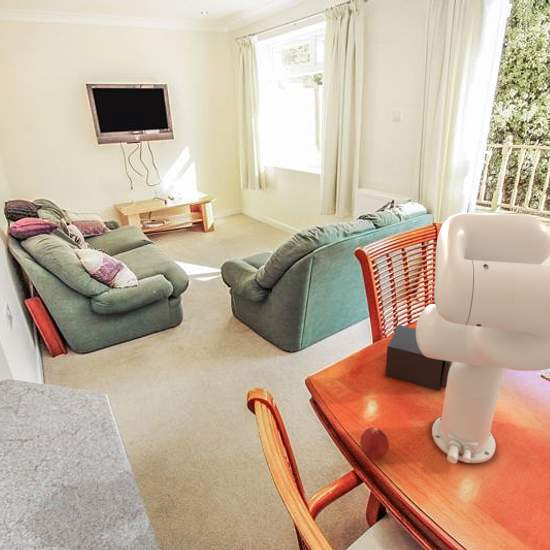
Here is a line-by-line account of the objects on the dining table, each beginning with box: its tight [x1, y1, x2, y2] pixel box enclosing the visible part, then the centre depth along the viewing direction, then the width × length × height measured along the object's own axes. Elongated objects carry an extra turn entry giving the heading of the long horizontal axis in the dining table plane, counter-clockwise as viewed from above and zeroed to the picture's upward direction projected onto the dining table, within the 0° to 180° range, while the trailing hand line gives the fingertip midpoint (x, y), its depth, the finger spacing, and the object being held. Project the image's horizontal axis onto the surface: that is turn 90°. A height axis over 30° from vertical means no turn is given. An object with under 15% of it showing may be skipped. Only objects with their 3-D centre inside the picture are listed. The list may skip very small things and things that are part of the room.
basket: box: [440, 361, 453, 389], centre depth 101 cm, size 18×11×8 cm, turn 59°
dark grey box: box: [385, 324, 445, 391], centre depth 103 cm, size 14×12×10 cm
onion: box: [359, 427, 390, 460], centre depth 79 cm, size 6×6×8 cm
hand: (461, 345), depth 96 cm, fingers closed
